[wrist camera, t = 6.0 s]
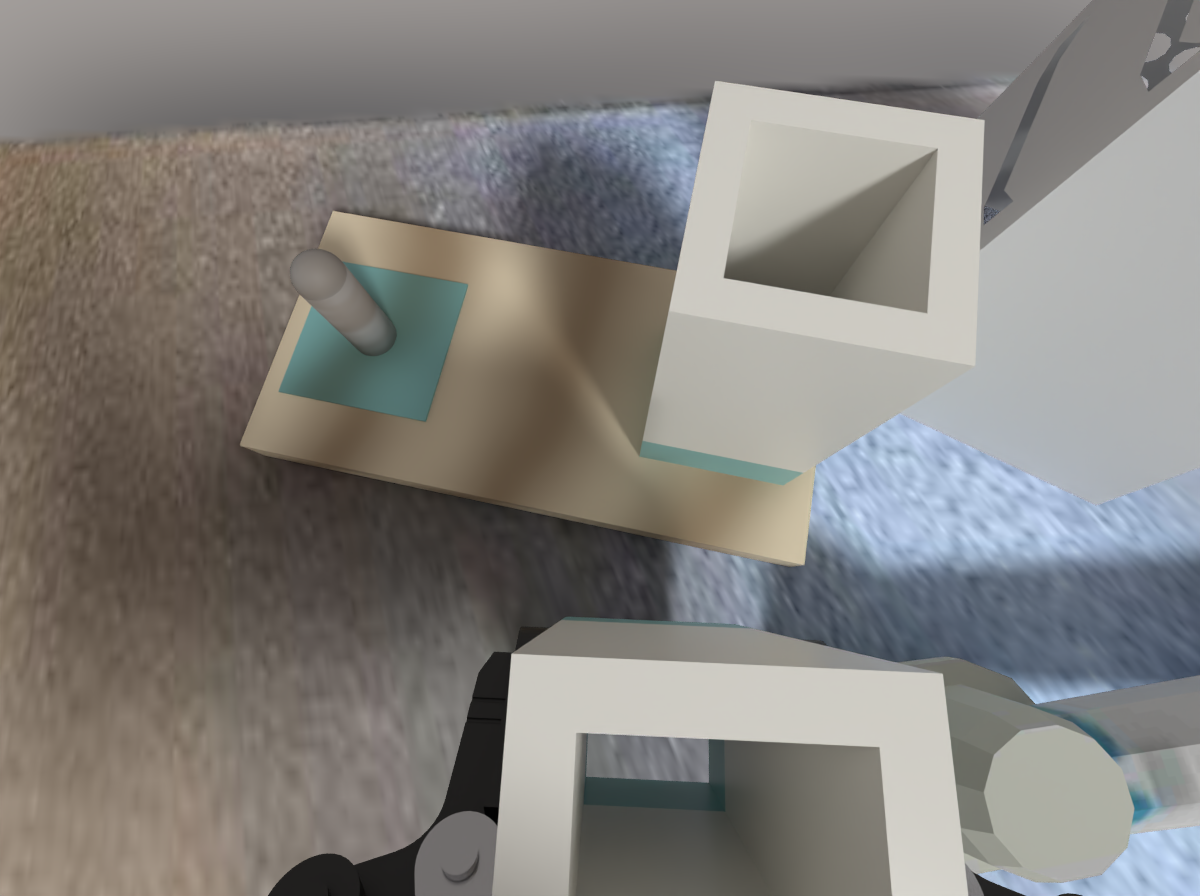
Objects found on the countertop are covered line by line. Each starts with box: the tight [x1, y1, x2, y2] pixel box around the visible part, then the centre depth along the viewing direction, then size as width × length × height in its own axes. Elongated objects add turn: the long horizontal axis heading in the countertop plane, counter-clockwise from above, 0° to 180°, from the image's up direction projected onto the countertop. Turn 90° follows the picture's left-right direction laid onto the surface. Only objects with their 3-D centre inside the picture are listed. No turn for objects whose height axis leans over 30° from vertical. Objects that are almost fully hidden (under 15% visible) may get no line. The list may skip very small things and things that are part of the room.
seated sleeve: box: [639, 81, 985, 485], centre depth 14 cm, size 5×5×10 cm
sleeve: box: [492, 617, 968, 896], centre depth 10 cm, size 5×5×10 cm
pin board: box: [240, 211, 816, 567], centre depth 18 cm, size 20×10×6 cm, turn 78°
